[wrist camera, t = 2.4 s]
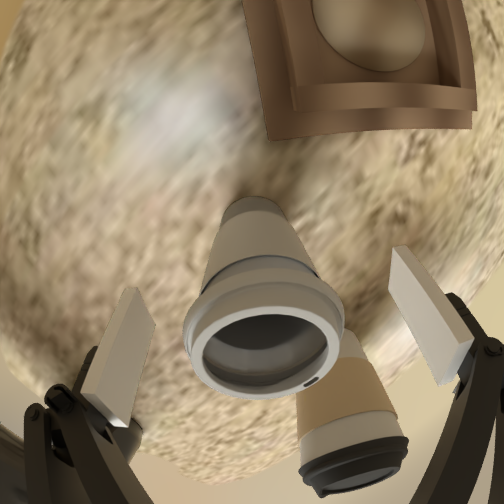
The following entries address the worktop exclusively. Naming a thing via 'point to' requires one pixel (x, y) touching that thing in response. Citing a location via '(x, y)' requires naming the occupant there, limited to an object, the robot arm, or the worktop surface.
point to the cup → (262, 309)
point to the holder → (361, 65)
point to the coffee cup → (348, 426)
